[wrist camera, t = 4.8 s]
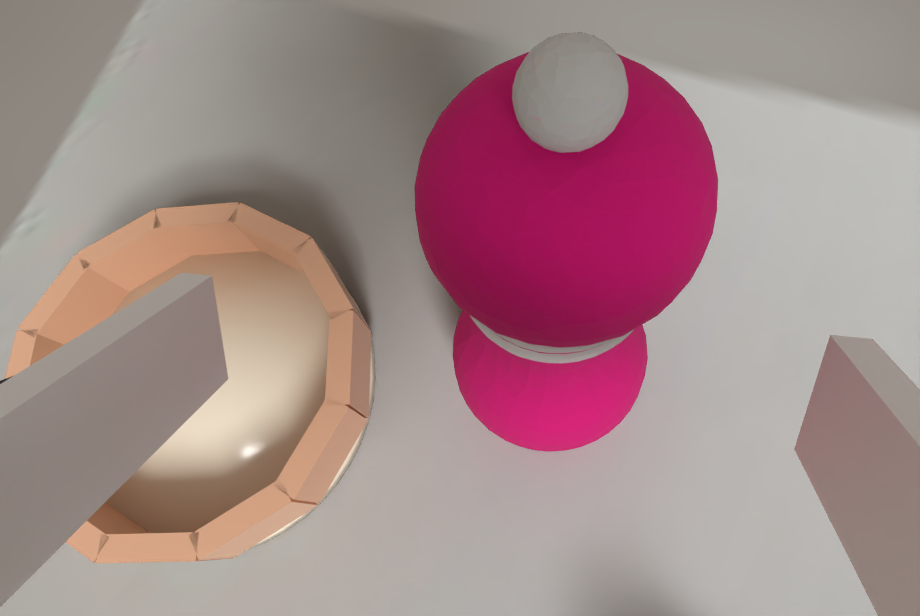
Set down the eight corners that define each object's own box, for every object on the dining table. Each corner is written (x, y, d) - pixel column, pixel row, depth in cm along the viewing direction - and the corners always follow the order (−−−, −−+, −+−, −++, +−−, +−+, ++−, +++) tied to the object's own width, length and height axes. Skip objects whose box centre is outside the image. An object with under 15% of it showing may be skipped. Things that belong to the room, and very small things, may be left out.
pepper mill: (663, 384, 27) (966, 39, 8) (544, 500, 26) (574, 410, 7) (546, 275, 29) (572, -187, 10) (432, 376, 28) (232, 64, 9)
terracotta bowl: (434, 437, 27) (419, 421, 23) (129, 630, 26) (60, 646, 22) (292, 193, 32) (260, 149, 29) (32, 342, 31) (-37, 317, 27)
